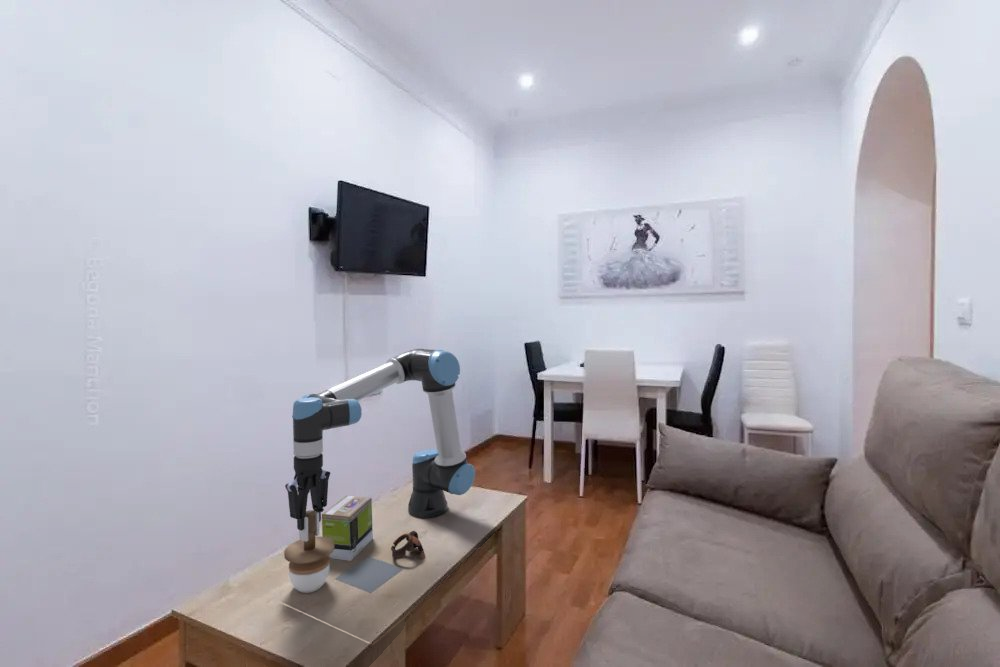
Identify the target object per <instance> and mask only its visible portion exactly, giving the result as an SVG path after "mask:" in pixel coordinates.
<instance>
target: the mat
mask: <svg viewBox="0 0 1000 667" xmlns="http://www.w3.org/2000/svg"><path fill="white" fill-rule="evenodd" d="M404 570H405V568H403V567H400V566H397V565H394V564H393V563H389V562H387V561H383V560H380V559H378V558H374V557H371V556H368V557H367V558H365V559H364V560H361V561H360V562H359V563H357V564H355V565H354V566H352V567H351V568H349V569H347V570H346V571H344V572H343V573H341V574H340V575H338V576H336V577H334V580H336V581H339V582H341V583H344V584H347V585H349V586H352V587H355V588H357V589H359V590H362V591H365V592H367V593H369V594H371V593H373V592H374V591H376V590H377V589H378V588H380V587H381V586H383V585H384V584H385V583H387V582H388V581H389V580H391V579H392V578H393V577H394V576H396V575H397V574H399V573H400V572H402V571H404Z"/></svg>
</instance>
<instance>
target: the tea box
mask: <svg viewBox="0 0 1000 667" xmlns="http://www.w3.org/2000/svg"><path fill="white" fill-rule="evenodd" d="M372 504H373V502H372V497H365V496H364V497H363V496H354V495H353V496H351V495H345V496H343V497H342V498H340V500H338V501H337V502H336V503H334V504H333V505H332V506H331V507H329V508H328V509H327V510H325V511H323V512H322V513H321V534H322V535H321V537H327V538H330V539H331V540H333V541H334V551H333V552H332V553H331V554H330V555H329V556H330V559H335V560H344V561H349V562H350V561H353V559H354V558H355V557H357V555H358V554H359V553H360V552H361V551H362V550H363V549H364V548H365V547H367V545H368V544H369V543H370V542H371V541H372V540H373V539H374V537H373V536H374V534H373V532H374V531H373V506H372Z"/></svg>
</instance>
